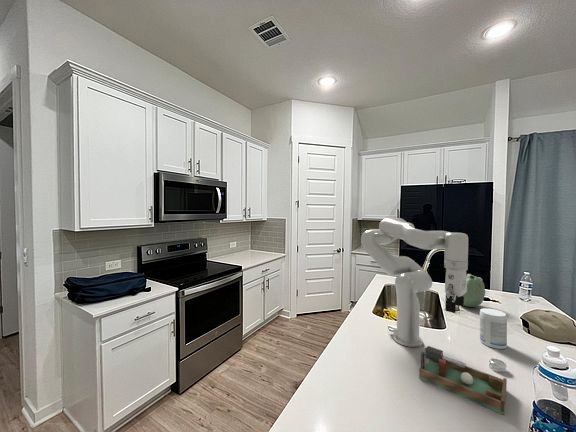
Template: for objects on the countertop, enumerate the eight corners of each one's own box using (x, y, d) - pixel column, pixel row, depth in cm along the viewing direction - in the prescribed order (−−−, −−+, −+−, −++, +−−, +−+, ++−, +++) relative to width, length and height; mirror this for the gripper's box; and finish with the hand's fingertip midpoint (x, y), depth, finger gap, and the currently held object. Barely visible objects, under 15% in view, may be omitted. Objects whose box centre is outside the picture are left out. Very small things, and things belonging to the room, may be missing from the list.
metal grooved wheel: (509, 371, 93) (494, 364, 98) (509, 364, 93) (494, 356, 98) (500, 374, 91) (486, 366, 96) (501, 366, 91) (486, 359, 96)
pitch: (415, 376, 90) (415, 360, 90) (426, 360, 100) (426, 345, 100) (504, 415, 73) (504, 395, 73) (506, 390, 83) (506, 373, 83)
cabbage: (447, 304, 160) (448, 274, 159) (462, 299, 169) (463, 270, 169) (475, 313, 146) (476, 280, 146) (490, 307, 156) (491, 276, 155)
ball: (459, 383, 85) (459, 373, 85) (461, 378, 87) (461, 368, 87) (472, 388, 82) (472, 378, 82) (473, 383, 85) (474, 373, 85)
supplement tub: (509, 345, 111) (510, 313, 111) (502, 352, 106) (503, 318, 106) (483, 336, 119) (484, 306, 119) (475, 342, 114) (476, 310, 114)
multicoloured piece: (425, 368, 92) (425, 349, 92) (427, 364, 95) (427, 345, 95) (464, 384, 84) (464, 362, 84) (465, 379, 86) (466, 358, 86)
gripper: (459, 269, 87) (458, 317, 87) (473, 263, 98) (472, 306, 98) (436, 266, 93) (435, 311, 93) (452, 260, 104) (451, 300, 104)
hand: (454, 308), depth 96 cm, fingers open, 9 cm apart
